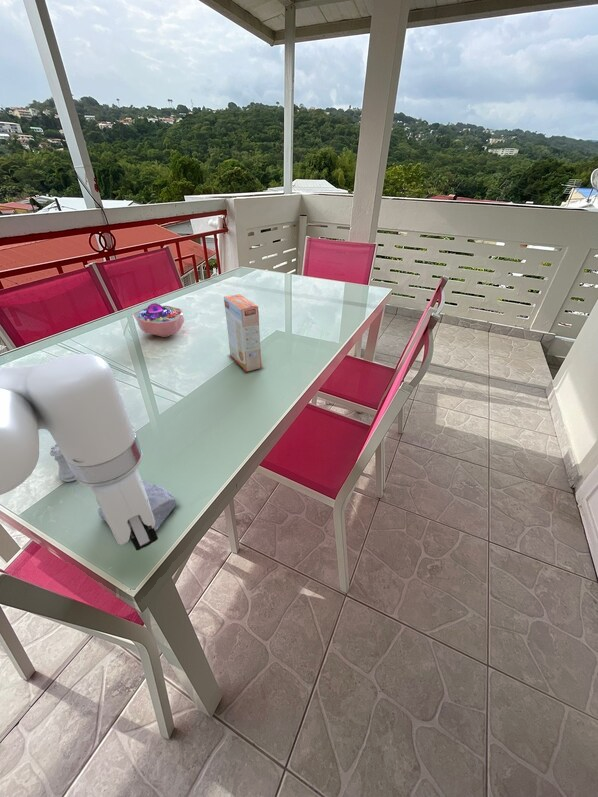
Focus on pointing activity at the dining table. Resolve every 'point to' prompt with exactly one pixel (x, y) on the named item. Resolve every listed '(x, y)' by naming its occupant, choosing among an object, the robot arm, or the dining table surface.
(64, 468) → the rook chess piece
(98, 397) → the robot arm
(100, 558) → the dining table surface
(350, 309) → the dining table surface
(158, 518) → the stone block
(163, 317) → the cell model
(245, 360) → the cracker box
